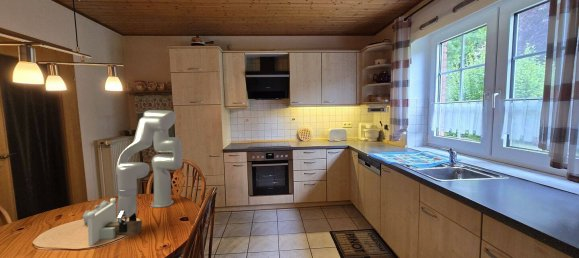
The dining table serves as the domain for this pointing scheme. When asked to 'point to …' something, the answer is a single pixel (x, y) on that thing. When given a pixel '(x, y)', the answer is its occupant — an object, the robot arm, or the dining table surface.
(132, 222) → the rail
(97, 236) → the pale grey legged piece
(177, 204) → the dining table surface
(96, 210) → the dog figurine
